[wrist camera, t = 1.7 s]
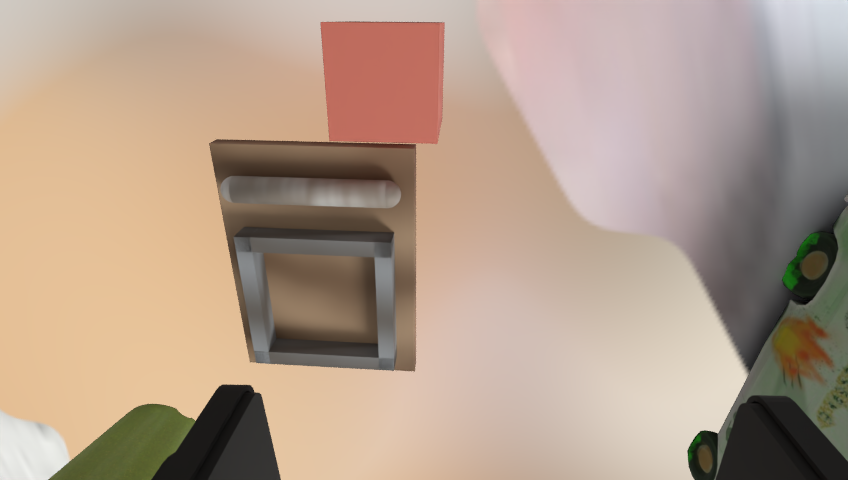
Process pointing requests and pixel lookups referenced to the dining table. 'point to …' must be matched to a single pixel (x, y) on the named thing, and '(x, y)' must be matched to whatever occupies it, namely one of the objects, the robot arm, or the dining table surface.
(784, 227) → the dining table surface
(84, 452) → the plant pot
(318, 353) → the board
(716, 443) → the toy car
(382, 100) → the red block
